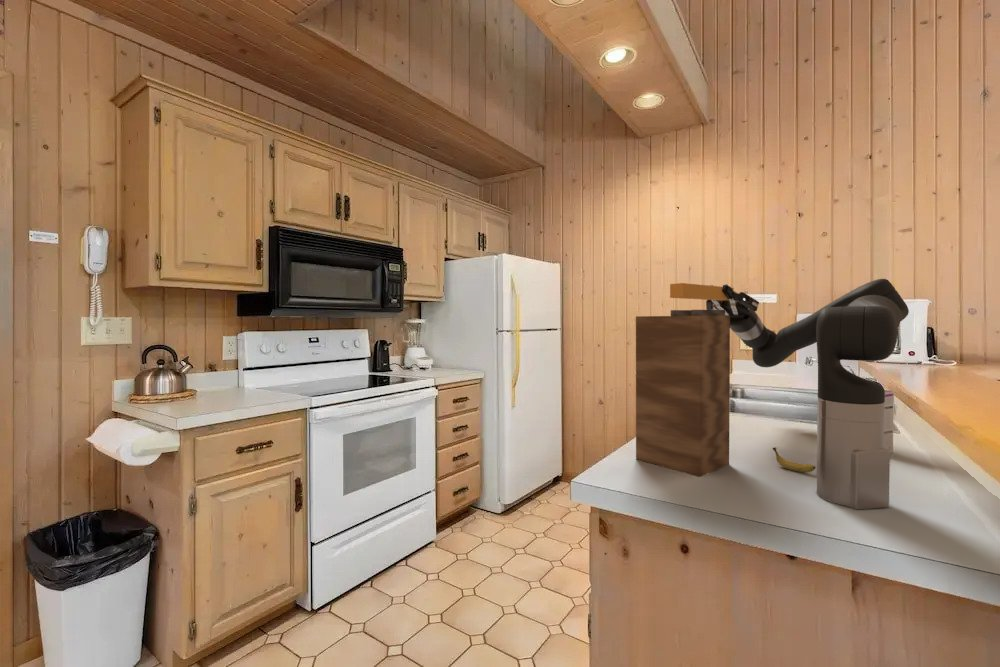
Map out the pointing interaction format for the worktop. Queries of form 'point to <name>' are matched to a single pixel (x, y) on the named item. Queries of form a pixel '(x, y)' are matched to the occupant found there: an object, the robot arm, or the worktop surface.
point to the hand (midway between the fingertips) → (716, 287)
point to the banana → (793, 464)
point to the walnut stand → (683, 390)
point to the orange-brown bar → (697, 292)
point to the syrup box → (888, 420)
